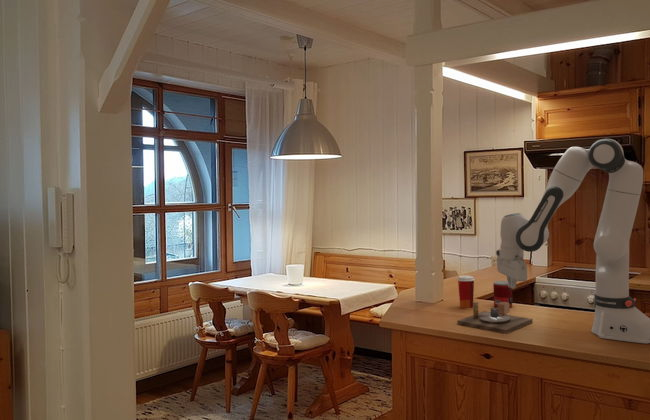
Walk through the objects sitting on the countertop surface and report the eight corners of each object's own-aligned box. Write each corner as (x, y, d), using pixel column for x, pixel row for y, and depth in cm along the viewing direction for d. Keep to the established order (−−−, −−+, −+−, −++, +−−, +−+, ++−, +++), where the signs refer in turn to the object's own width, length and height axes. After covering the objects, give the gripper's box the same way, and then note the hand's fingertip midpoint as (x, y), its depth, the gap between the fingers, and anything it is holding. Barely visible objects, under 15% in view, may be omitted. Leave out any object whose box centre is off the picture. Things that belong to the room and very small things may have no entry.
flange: (500, 324, 226) (499, 311, 225) (473, 319, 235) (473, 307, 234) (519, 316, 236) (519, 304, 236) (493, 312, 245) (493, 300, 244)
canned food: (513, 308, 257) (512, 284, 256) (494, 308, 258) (494, 284, 258) (511, 304, 264) (510, 280, 264) (493, 304, 266) (492, 280, 265)
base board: (532, 322, 233) (532, 303, 232) (506, 333, 220) (505, 313, 219) (484, 314, 249) (483, 295, 249) (457, 324, 236) (456, 304, 235)
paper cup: (469, 304, 268) (468, 274, 267) (478, 308, 260) (477, 277, 259) (454, 306, 265) (453, 276, 264) (463, 310, 258) (462, 279, 257)
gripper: (531, 257, 221) (531, 293, 223) (508, 249, 242) (508, 282, 243) (515, 258, 221) (515, 294, 222) (494, 250, 241) (494, 283, 242)
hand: (511, 287), depth 233 cm, fingers closed
